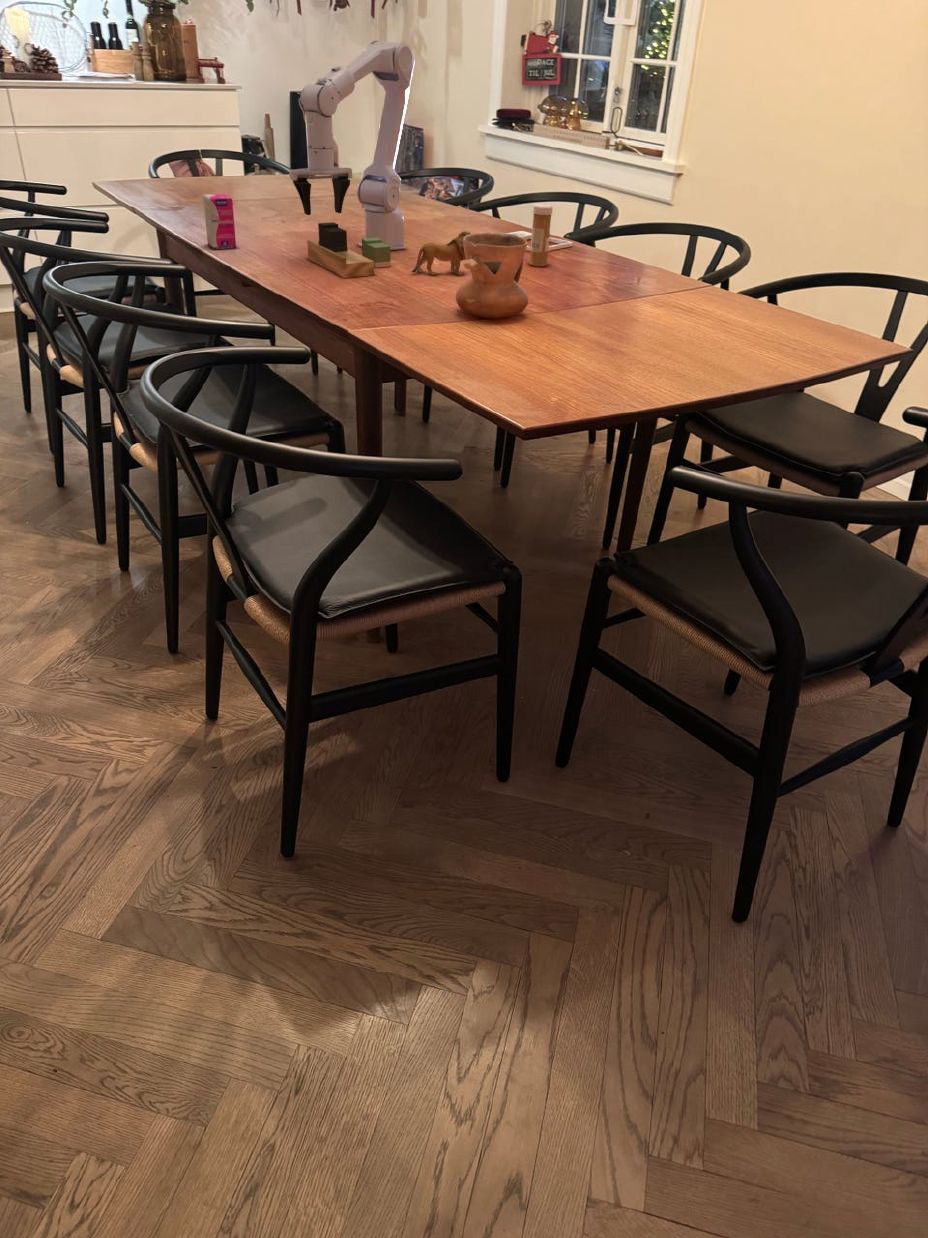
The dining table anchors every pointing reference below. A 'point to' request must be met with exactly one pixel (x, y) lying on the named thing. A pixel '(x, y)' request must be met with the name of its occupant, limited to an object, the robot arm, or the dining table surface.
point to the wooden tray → (340, 261)
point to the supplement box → (219, 221)
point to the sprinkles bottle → (540, 234)
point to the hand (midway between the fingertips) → (323, 213)
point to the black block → (332, 237)
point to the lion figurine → (443, 254)
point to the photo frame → (561, 242)
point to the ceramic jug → (493, 275)
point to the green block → (376, 252)
